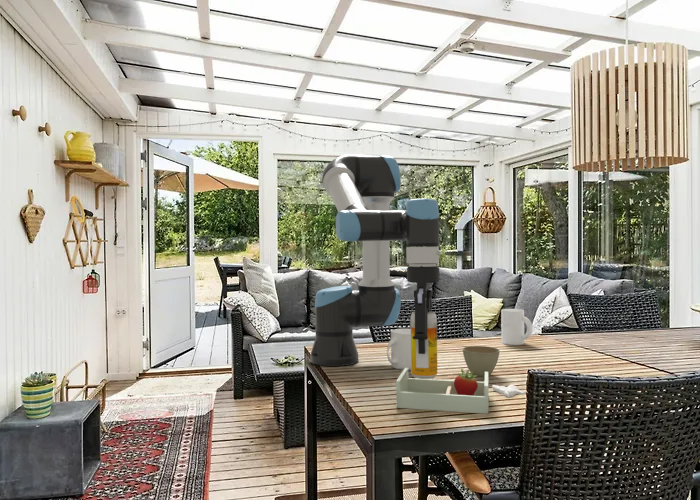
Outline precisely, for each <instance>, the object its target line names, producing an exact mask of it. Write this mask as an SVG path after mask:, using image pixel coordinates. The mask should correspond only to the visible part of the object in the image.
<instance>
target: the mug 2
mask: <svg viewBox="0 0 700 500" xmlns="http://www.w3.org/2000/svg"><path fill="white" fill-rule="evenodd" d="M500 313H501V314H500V317H501V318H500V319H501V322H500V324H501V325H500V328H501V330H500V331H501V344H503V345H509V346H510V345H511V346H512V345H513V346H520V345H524V344H525V340H527V339H529V338H531V336H532V334H533V332H534V331H533V330H534V326H533V323H532V321H531V320H530V319H529V318H528V317H527V316H525V310H524V309H520V308H502V309H501V311H500ZM525 325H526V332H525Z"/></svg>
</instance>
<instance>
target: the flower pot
mask: <svg viewBox="0 0 700 500" xmlns="http://www.w3.org/2000/svg"><path fill="white" fill-rule="evenodd" d="M500 352H501V351H500V349H499V348H497V347H493V346H484V345H471V346H470V345H469V346H465V347H463V348H462V355H463V359H464V361H465V364H466V366H467V370H469V373H471V371H472V372H473V373H472V374H473V376H474V375H477V376H476V377H478V378H479V377H480V378H481V377H482V378H485V372H488V377H489V376H491V375H492V373H493V372H494V370H495V368H496V366H497V363H498V361H499V360H498V359H499V357H500Z"/></svg>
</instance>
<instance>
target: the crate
mask: <svg viewBox="0 0 700 500" xmlns="http://www.w3.org/2000/svg"><path fill="white" fill-rule="evenodd" d="M454 380H455V379H454ZM454 380H453V379H435V378H432V379H418V378H415V377H413V378H412V377H409V370H408V368H405V369H404V370H403V369H402V371H401V373H400V374H399V376H398V378H397V379H396V381H395V382H396V385H395V389H396V390H395V391H396V392H395V393H396V395H395V397H396V399H395V400H396V401H395V402H396V405H395V406H396V408H399V409H411V410H412V409H413V410H425V411H426V410H427V411H442V412H455V413H456V412H457V413H471V414H486V415H488V414H489V398H490V397H489V376H488V372H485V377H484V381H477V384H478V387H477V390H476V391H475V393H474V396H470V395H458V394H457V392H456V389H455V387H454Z"/></svg>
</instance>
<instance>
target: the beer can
mask: <svg viewBox="0 0 700 500" xmlns="http://www.w3.org/2000/svg"><path fill="white" fill-rule="evenodd" d="M437 317H438V316H437V314H436V312H435V311H430V312H428V317H427V336H428V338H427V339H428V358H429V368H416V339H413V336H414V334H415V310H414V311H412V312H411V314H410V318H409V319H410V329H411V369H410V373H411V374H412V376H413V378H418V379H435V378H436V376H437V375H438V333H437V332H438V318H437ZM422 333H423V332H422Z"/></svg>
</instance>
